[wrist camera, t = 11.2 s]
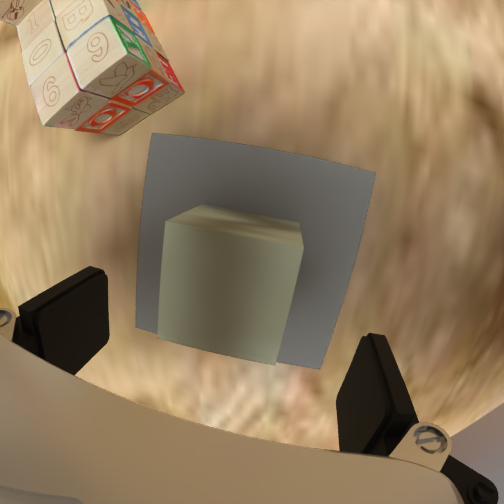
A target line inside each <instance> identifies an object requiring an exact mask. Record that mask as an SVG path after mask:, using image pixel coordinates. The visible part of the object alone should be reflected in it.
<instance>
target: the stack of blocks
mask: <svg viewBox="0 0 504 504" xmlns="http://www.w3.org/2000/svg"><path fill="white" fill-rule="evenodd" d="M0 20H1V21H4V22H7V23H9V24H12V25H15V26H16V27H17V32H18V37H19V42H20V47H21V51H22V60H23V65H24V69H25V73H26V77H27V81H28V84H29V87H31V91H32V95H33V98H34V101H35V105H36V109H37V111H38V114H39V118H40V121H41V124H42V125H43V126H48V127H58V128H67V129H74V130H75V131H83V132H93V133H105V134H115V135H121V134H123V133H124V132H125V131H127V130H128V129H130V128H131V127H132V126H134V125H135V124H137V123H138V122H140V121H141V120H143V119H144V118H146V117H147V116H149V115H150V114H152V113H154V112H155V111H157V110H159V109H160V108H162V107H163V106H165V105H166V104H168V103H170V102H171V101H173V100H174V99H176V98H177V97H179V96H180V95H182V94H183V93H184V90H183V88H182V87H181V85H180V83H179V81H178V79H177V77H176V75H175V74H174V72H173V70H172V68H171V66H170V64H169V63H168V58H167V56H166V54H165V52H164V50H163V48H162V47H161V45H160V43H159V41H158V39H157V37H156V36H155V33H154V31H153V29H152V27H151V25H150V24H149V22H148V20H147V18H146V16H145V14H144V13H143V12H142V10H141V8H140V7H139V5H138V3H137V1H136V0H0Z"/></svg>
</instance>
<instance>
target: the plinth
mask: <svg viewBox="0 0 504 504" xmlns="http://www.w3.org/2000/svg"><path fill="white" fill-rule="evenodd" d="M375 175H376V173H375V172H371V171H368V170H364V169H360V168H356V167H352V166H348V165H344V164H340V163H336V162H332V161H327V160H323V159H319V158H314V157H309V156H305V155H300V154H295V153H290V152H285V151H280V150H274V149H269V148H263V147H258V146H252V145H246V144H240V143H233V142H227V141H220V140H212V139H205V138H197V137H189V136H180V135H170V134H160V133H152V136H151V142H150V148H149V155H148V162H147V169H146V176H145V184H144V192H143V201H142V211H141V221H140V233H139V246H138V261H137V282H136V327H137V328H140V329H143V330H146V331H150V332H153V333H157V334H158V312H159V293H160V278H161V264H162V252H163V241H164V231H165V221H167V220H169V219H171V218H173V217H176V216H178V215H180V214H182V213H184V212H186V211H188V210H190V209H193V208H195V207H197V206H199V205H201V204H204V205H210V206H215V207H221V208H227V209H232V210H237V211H243V212H248V213H253V214H259V215H264V216H269V217H274V218H279V219H284V220H289V221H294V222H299V223H300V229H301V234H302V240H303V245H304V250H303V255H302V259H301V264H300V268H299V272H298V276H297V281H296V285H295V289H294V293H293V297H292V301H291V306H290V310H289V314H288V318H287V322H286V325H285V329H284V333H283V337H282V341H281V345H280V349H279V352H278V356H277V360H276V362H279V363H284V364H290V365H296V366H302V367H308V368H314V369H320V368H321V365H322V363H323V360H324V357H325V354H326V351H327V349H328V346H329V343H330V340H331V337H332V334H333V331H334V328H335V325H336V322H337V319H338V316H339V313H340V310H341V307H342V303H343V300H344V297H345V294H346V290H347V287H348V284H349V280H350V277H351V273H352V270H353V266H354V262H355V259H356V255H357V251H358V248H359V244H360V240H361V236H362V232H363V228H364V224H365V220H366V216H367V212H368V207H369V203H370V198H371V194H372V189H373V185H374V180H375Z"/></svg>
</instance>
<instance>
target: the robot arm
mask: <svg viewBox="0 0 504 504" xmlns="http://www.w3.org/2000/svg"><path fill="white" fill-rule="evenodd" d="M18 308H19V314H20V316H19V317H17V318H16V314H15V313H14V312H13V311H12V310H11V309H7V308H0V504H497V502H498V491H497V488H496V487H495V485H494V484H493V483H492V482H491V481H490V480H489V479H487V478H486V477H484V476H482V475H481V474H479V473H477V472H476V471H474V470H473V469H471V468H469V467H468V466H466V465H465V464H463V463H461V462H460V461H458V460H457V459H455V458H453V457H452V456H450V455H449V453H450V451H451V447H452V443H451V439H450V437H449V435H448V434H447V433H446V431H445V430H444V429H442V428H441V427H439V426H437V425H435V424H433V423H428V422H420V423H419V421H418V418H417V415H416V412H415V410H414V407H413V404H412V401H411V399H410V396H409V393H408V391H407V388H406V385H405V383H404V380H403V378H402V376H401V373H400V370H399V368H398V365H397V363H396V360H395V358H394V356H393V353H392V351H391V348H390V346H389V343H388V341H387V339H386V337H385V335H379V334H373V333H369V334H368V335H367V336H363V337H362V338H361V340H360V342H359V345H358V348H357V350H356V353H355V355H354V358H353V360H352V362H351V365H350V367H349V370H348V372H347V374H346V377H345V379H344V381H343V383H342V386H341V388H340V390H339V392H338V395H337V399H336V409H337V421H338V434H339V449H340V451H335V450H327V449H318V448H311V447H304V446H297V445H291V444H285V443H279V442H274V441H269V440H264V439H259V438H254V437H250V436H245V435H241V434H237V433H233V432H229V431H225V430H221V429H217V428H213V427H210V426H206V425H203V424H199V423H196V422H192V421H189V420H186V419H183V418H179V417H176V416H173V415H170V414H167V413H164V412H161V411H159V410H156V409H153V408H150V407H147V406H145V405H142V404H139V403H137V402H134V401H131V400H129V399H126V398H124V397H121V396H119V395H117V394H114V393H112V392H109V391H107V390H105V389H103V388H100V387H98V386H96V385H94V384H91V383H89V382H87V381H85V380H83V379H81V378H78V377H76V376H74V375H75V374H76V373H77V372H78V371H79V370H80V369H81V368H82V367H83V366H84V365H85V364H86V363H87V362H88V361H89V360H90V359H91V358H92V357H93V356H94V355H95V354H96V353H97V352H98V351H99V350H101V349H102V348H103V347H104V346H105V345H106V344H107V342H108V340H109V335H110V334H109V313H108V277H107V275H106V274H105V272H104V271H103V270H102V269H99V268H95V267H92V266H89V267H87V268H85V269H83V270H81V271H79V272H78V273H76V274H74V275H72V276H70V277H68V278H67V279H65V280H63V281H61V282H60V283H58V284H56V285H54V286H53V287H51V288H49V289H47V290H46V291H44V292H42V293H40V294H39V295H37V296H35V297H33V298H32V299H30V300H28V301H27V302H25V303H23V304H22V305H20V306H18Z"/></svg>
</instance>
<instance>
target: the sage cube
mask: <svg viewBox="0 0 504 504" xmlns="http://www.w3.org/2000/svg"><path fill="white" fill-rule="evenodd" d="M303 250H304V245H303V240H302V234H301V229H300V223H299V222H294V221H289V220H284V219H279V218H274V217H269V216H264V215H259V214H253V213H248V212H243V211H237V210H232V209H227V208H221V207H215V206H210V205H204V204H201V205H199V206H197V207H195V208H193V209H190V210H188V211H186V212H184V213H182V214H180V215H178V216H176V217H173V218H171V219H169V220H167V221H165V231H164V241H163V252H162V264H161V278H160V293H159V312H158V338H159V339H163V340H166V341H170V342H174V343H177V344H181V345H185V346H189V347H193V348H197V349H201V350H205V351H209V352H213V353H217V354H222V355H226V356H231V357H235V358H240V359H244V360H249V361H254V362H259V363H264V364H270V365H275V363H276V360H277V356H278V352H279V349H280V345H281V341H282V337H283V333H284V329H285V325H286V322H287V318H288V314H289V310H290V306H291V301H292V297H293V293H294V289H295V285H296V281H297V276H298V272H299V268H300V264H301V259H302V255H303Z"/></svg>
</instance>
